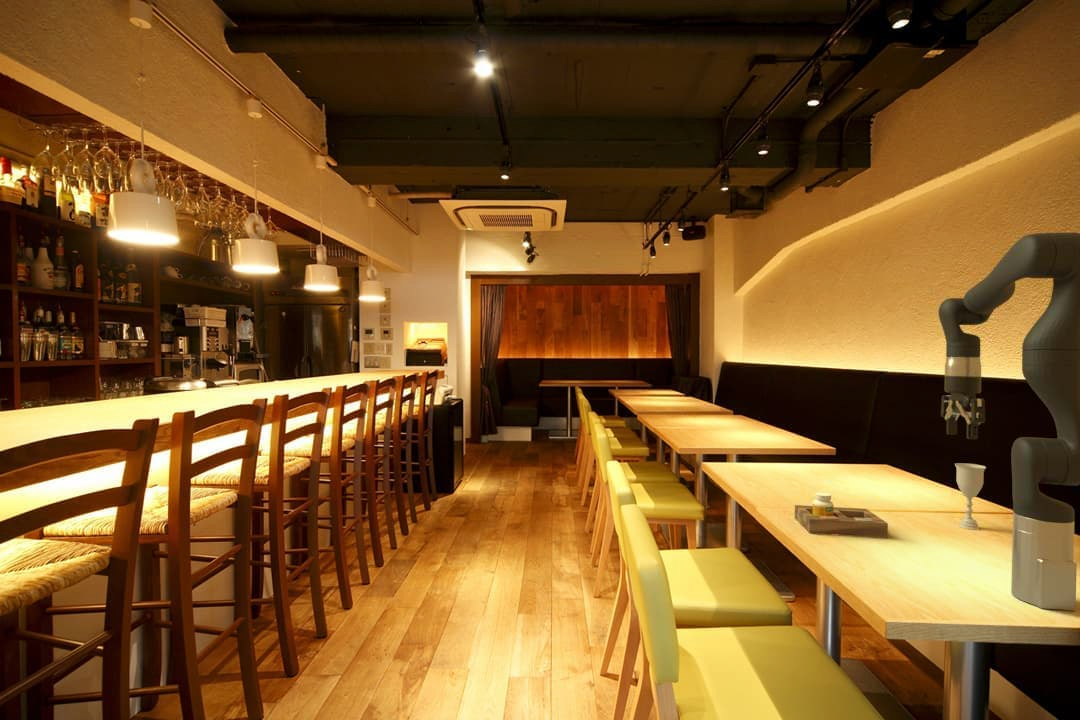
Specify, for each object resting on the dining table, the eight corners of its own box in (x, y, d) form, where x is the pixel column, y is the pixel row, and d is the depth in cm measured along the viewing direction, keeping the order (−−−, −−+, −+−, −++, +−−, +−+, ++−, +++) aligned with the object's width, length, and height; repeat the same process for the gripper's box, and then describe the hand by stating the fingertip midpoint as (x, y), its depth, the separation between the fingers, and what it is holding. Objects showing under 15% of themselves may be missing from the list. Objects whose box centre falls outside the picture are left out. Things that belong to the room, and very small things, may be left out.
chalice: (955, 528, 157) (956, 466, 157) (950, 521, 163) (952, 462, 163) (987, 532, 154) (989, 469, 153) (981, 525, 160) (982, 464, 159)
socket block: (887, 537, 148) (887, 522, 148) (809, 533, 152) (809, 517, 152) (865, 522, 162) (866, 507, 162) (794, 518, 166) (794, 504, 165)
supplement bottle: (818, 522, 161) (819, 490, 161) (836, 527, 157) (837, 494, 156) (808, 526, 158) (809, 493, 158) (826, 531, 154) (827, 497, 153)
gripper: (997, 375, 134) (996, 441, 134) (961, 374, 148) (960, 433, 148) (963, 375, 135) (962, 440, 135) (931, 373, 149) (930, 432, 149)
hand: (961, 436), depth 141 cm, fingers open, 8 cm apart
